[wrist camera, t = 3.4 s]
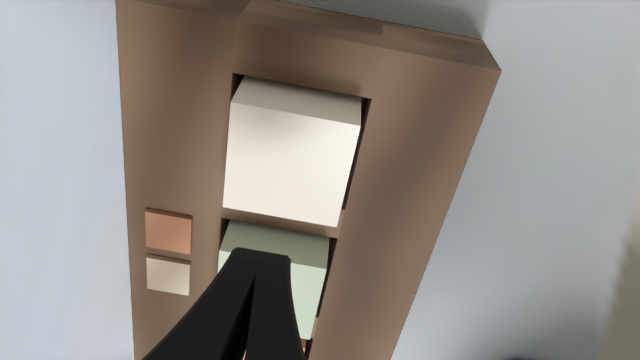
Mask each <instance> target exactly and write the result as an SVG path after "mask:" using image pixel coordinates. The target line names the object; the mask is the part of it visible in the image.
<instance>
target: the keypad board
mask: <svg viewBox="0 0 640 360" xmlns="http://www.w3.org/2000/svg"><path fill="white" fill-rule="evenodd" d="M115 2H116V21H117V39H118V58H119V77H120V96H121V114H122V133H123V152H124V171H125V189H126V208H127V227H128V246H129V264H130V283H131V302H132V321H133V339H134V358H135V360H141V359H142V358H143V357H145V356H146V355H147V354H148V353H149V352H150V351H151V350H152V349H153V348H154V347H155V346H156V345H157V344H158V343H159V342H160V341H161V340H162V339H163V338H164V337H165V336H166V335H167V334H168V333H169V331H170V330H171V329H172V328H173V327H174V326H175V325H176V324H177V323H178V322H179V321H180V319H181V318H182V317H183V316H184V315H185V314H186V313H187V312H188V311H189V309H190V308H191V307H192V306H193V305H194V303H195V302H196V301H197V300H198V298H199V297H200V296H201V295H202V293H203V292H204V291H205V290H206V288H207V287H208V286H209V285H210V283H211V282H212V281H213V279H214V278H215V276H216V275H217V273H218V260H219V250H220V247H221V244H222V241H223V238H224V236H225V233H226V230H227V227H228V225H229V222H230V219H231V220H237V221H243V222H248V223H254V224H260V225H265V226H271V227H276V228H282V229H288V230H293V231H299V232H304V233H310V234H316V235H321V236H327V237H330V238H329V249H328V260H327V270H326V274H325V279H324V283H323V287H322V291H321V295H320V299H319V304H318V308H317V312H316V316H315V320H314V325H313V329H312V333H311V337H310V340H308V339H306V346H305V352H304V354H305V358H306V360H391V357H392V354H393V352H394V349H395V347H396V344H397V341H398V339H399V336H400V334H401V331H402V328H403V326H404V323H405V321H406V318H407V315H408V313H409V310H410V308H411V305H412V302H413V300H414V297H415V295H416V292H417V289H418V287H419V284H420V282H421V279H422V276H423V274H424V271H425V269H426V266H427V263H428V261H429V258H430V256H431V253H432V250H433V248H434V245H435V243H436V240H437V237H438V235H439V232H440V230H441V227H442V224H443V222H444V219H445V217H446V214H447V211H448V209H449V206H450V204H451V201H452V198H453V196H454V193H455V191H456V188H457V185H458V183H459V180H460V178H461V175H462V172H463V170H464V167H465V165H466V162H467V159H468V157H469V154H470V152H471V149H472V146H473V144H474V141H475V139H476V136H477V133H478V131H479V128H480V126H481V123H482V120H483V118H484V115H485V113H486V110H487V107H488V105H489V102H490V100H491V97H492V94H493V92H494V89H495V87H496V84H497V81H498V79H499V76H500V74H501V69H500V67H499V66H498V64H497V63H496V61H495V59H494V58H493V56H492V54H491V53H490V51H489V50H488V48H487V46H486V45H485V43H484V42H483V40H478V39H473V38H468V37H463V36H457V35H452V34H447V33H442V32H437V31H431V30H426V29H421V28H416V27H411V26H405V25H400V24H395V23H390V22H384V21H379V20H374V19H369V18H364V17H358V16H353V15H348V14H343V13H338V12H332V11H327V10H322V9H317V8H311V7H306V6H301V5H296V4H291V3H285V2H280V1H275V0H115ZM245 75H248V76H253V77H259V78H264V79H269V80H275V81H280V82H285V83H291V84H296V85H301V86H307V87H312V88H318V89H323V90H328V91H334V92H339V93H344V94H350V95H355V96H360V97H361V128H360V132H359V136H358V140H357V144H356V149H355V153H354V157H353V161H352V165H351V170H350V174H349V178H348V182H347V186H346V191H345V195H344V199H343V203H342V207H341V211H340V216H339V220H338V224H337V227H331V226H326V225H320V224H315V223H309V222H303V221H298V220H292V219H287V218H281V217H275V216H270V215H264V214H259V213H253V212H247V211H242V210H236V209H231V208H225V207H223V195H224V182H225V169H226V156H227V143H228V130H229V117H230V104H231V100H232V98H233V97H234V95H235V93H236V91H237V89H238V87H239V85H240V83H241V81H242V80H243V78H244V76H245Z"/></svg>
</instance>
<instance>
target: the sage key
mask: <svg viewBox="0 0 640 360" xmlns="http://www.w3.org/2000/svg"><path fill="white" fill-rule="evenodd" d="M329 238H330V237H327V236H321V235H316V234H310V233H304V232H299V231H293V230H288V229H282V228H276V227H271V226H265V225H260V224H254V223H248V222H243V221H237V220H231V219H230V222H229V225H228V227H227V230H226V233H225V236H224V238H223V241H222V244H221V247H220V250H219V260H218V272H219V271H220V269H221V268H222V266H223V265H224V263H225V262H226V260H227V259H228V257H229V255H230V253H231V252H232V250H233V249H235V248H236V247H241V248H247V249H253V250H258V251H264V252H270V253H276V254H282V255H287V256H288V257H289V258H290V259H291V288H292V297H293V304H294V310H295V315H296V320H297V325H298V330H299V335H300V338H303V339H308V340H310V337H311V333H312V329H313V325H314V320H315V316H316V312H317V308H318V304H319V299H320V295H321V291H322V287H323V283H324V279H325V274H326V270H327V260H328V249H329ZM217 274H218V273H217Z"/></svg>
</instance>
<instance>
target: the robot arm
mask: <svg viewBox="0 0 640 360" xmlns="http://www.w3.org/2000/svg"><path fill="white" fill-rule="evenodd" d="M245 351H246V353H245ZM244 354H245V358H244V360H306V358H305V354H304V351H303V347H302V343H301V339H300V335H299V330H298V325H297V320H296V315H295V310H294V304H293V297H292V288H291V259H290V258H289V257H288V256H287V255H282V254H276V253H270V252H264V251H258V250H253V249H247V248H241V247H236V248H235V249H233V250H232V252H231V253H230V255H229V257H228V259H227V260H226V262H225V263H224V265H223V266H222V268H221V269H220V271H219V272H218V274H217V275H216V276H215V278H214V279H213V281H212V282H211V283H210V285H209V286H208V287H207V288H206V290H205V291H204V292H203V293H202V295H201V296H200V297H199V298H198V300H197V301H196V302H195V303H194V305H193V306H192V307H191V308H190V309H189V311H188V312H187V313H186V314H185V315H184V316H183V317H182V318H181V319H180V321H179V322H178V323H177V324H176V325H175V326H174V327H173V328H172V329H171V330H170V331H169V333H168V334H167V335H166V336H165V337H164V338H163V339H162V340H161V341H160V342H159V343H158V344H157V345H156V346H155V347H154V348H153V349H152V350H151V351H150V352H149V353H148V354H147V355H146V356H145V357H143V358H142V359H141V360H243V357H244Z"/></svg>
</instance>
